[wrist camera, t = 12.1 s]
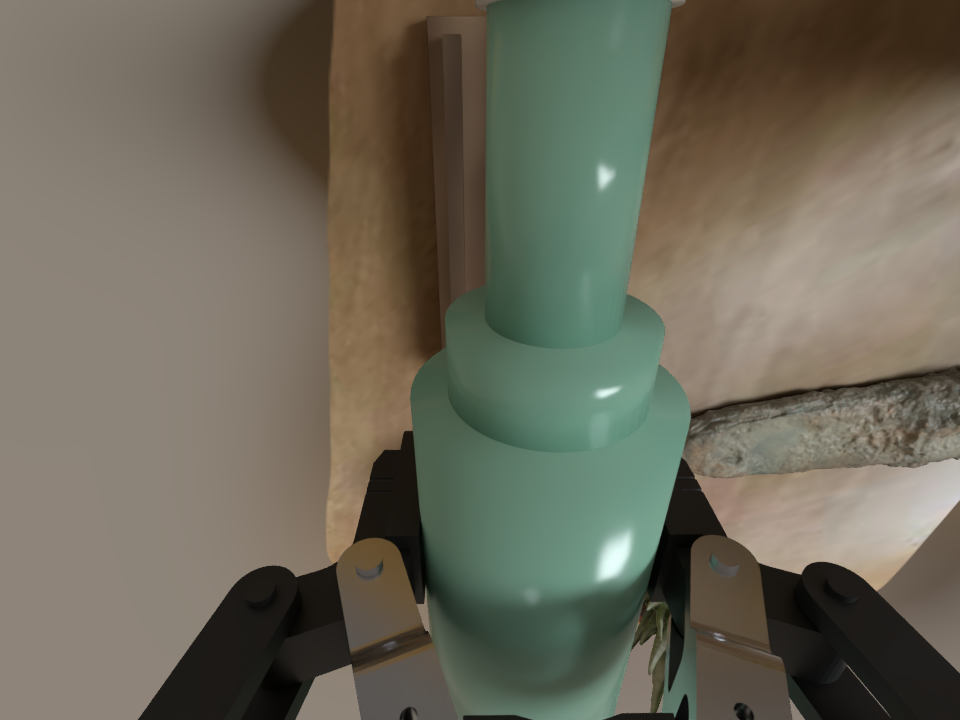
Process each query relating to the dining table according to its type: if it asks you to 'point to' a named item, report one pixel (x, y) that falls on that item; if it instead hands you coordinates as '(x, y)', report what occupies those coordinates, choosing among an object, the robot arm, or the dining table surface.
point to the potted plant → (649, 624)
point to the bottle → (551, 376)
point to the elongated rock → (831, 429)
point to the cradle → (458, 152)
